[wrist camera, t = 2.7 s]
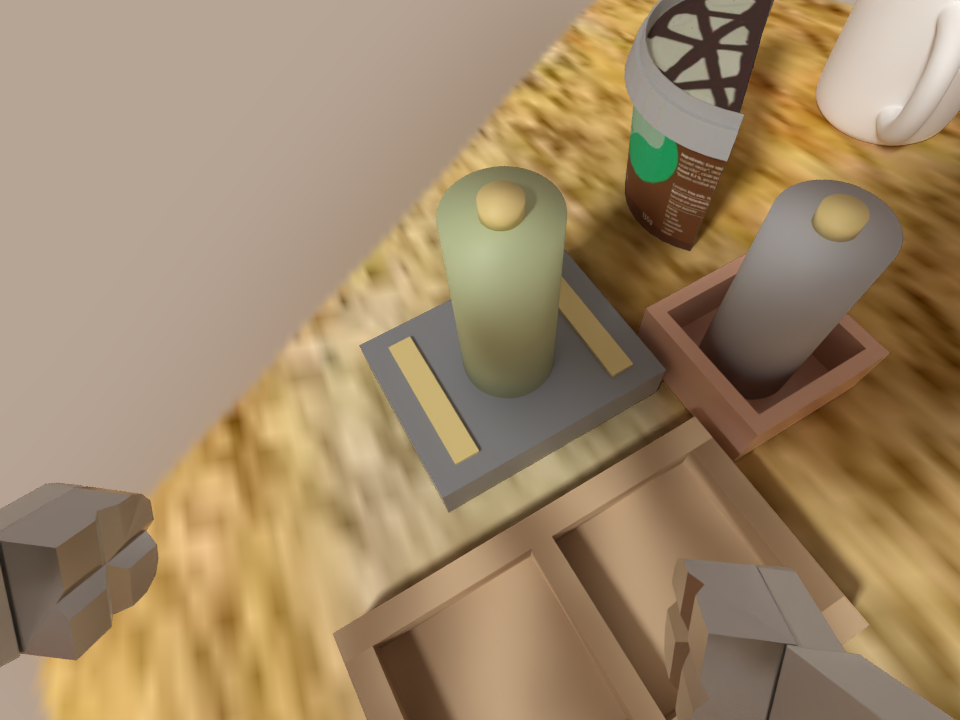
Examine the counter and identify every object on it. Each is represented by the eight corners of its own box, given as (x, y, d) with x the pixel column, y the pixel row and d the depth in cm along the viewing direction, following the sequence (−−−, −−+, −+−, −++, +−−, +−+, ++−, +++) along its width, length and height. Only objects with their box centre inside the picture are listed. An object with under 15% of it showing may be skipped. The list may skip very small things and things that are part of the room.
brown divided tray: (683, 434, 28) (695, 416, 27) (841, 629, 24) (869, 624, 22) (347, 637, 25) (332, 633, 23) (458, 909, 21) (451, 932, 19)
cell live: (522, 305, 30) (522, 133, 20) (571, 370, 28) (595, 213, 19) (447, 344, 29) (411, 184, 20) (491, 414, 27) (475, 272, 18)
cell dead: (746, 310, 31) (843, 148, 22) (808, 372, 29) (944, 225, 20) (680, 347, 30) (750, 197, 21) (739, 415, 28) (846, 282, 19)
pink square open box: (745, 282, 32) (768, 241, 29) (851, 387, 29) (890, 353, 26) (633, 345, 31) (645, 308, 28) (732, 462, 28) (757, 435, 25)
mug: (940, 206, 34) (1089, 36, 25) (792, 173, 36) (882, 5, 27) (950, 80, 39) (1077, -99, 30) (820, 57, 41) (902, -117, 32)
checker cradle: (558, 271, 34) (561, 237, 31) (656, 391, 30) (669, 363, 27) (370, 368, 31) (356, 339, 29) (448, 512, 27) (440, 494, 25)
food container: (634, 110, 40) (665, -51, 31) (726, 128, 38) (786, -35, 30) (579, 243, 35) (599, 95, 26) (684, 270, 33) (742, 123, 24)
